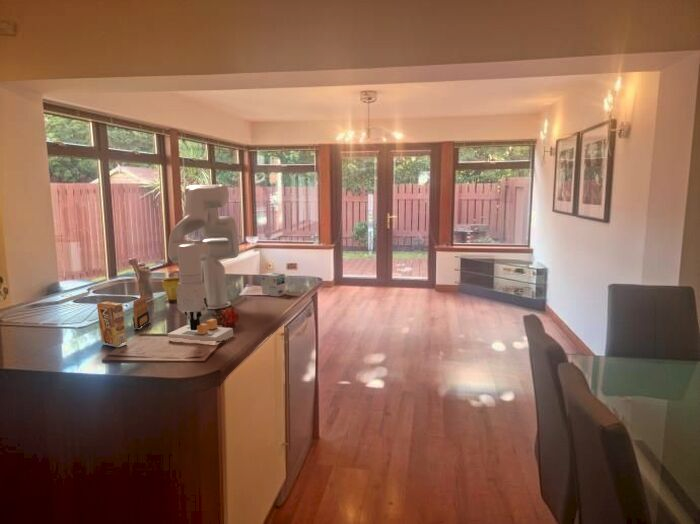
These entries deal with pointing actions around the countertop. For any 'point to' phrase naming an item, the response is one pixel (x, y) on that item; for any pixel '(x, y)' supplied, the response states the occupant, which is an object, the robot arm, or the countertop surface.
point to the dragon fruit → (227, 317)
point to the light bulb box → (273, 284)
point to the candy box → (111, 323)
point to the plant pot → (171, 287)
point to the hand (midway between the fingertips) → (195, 329)
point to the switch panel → (211, 335)
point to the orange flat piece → (140, 312)
